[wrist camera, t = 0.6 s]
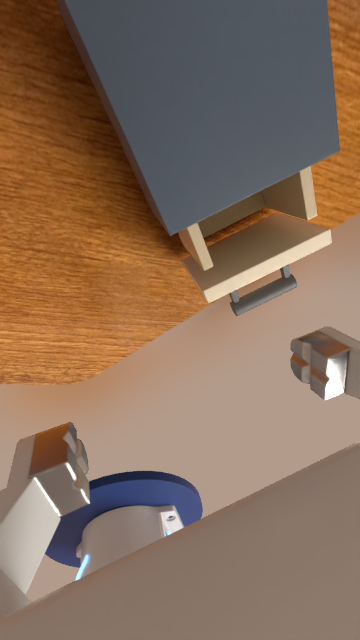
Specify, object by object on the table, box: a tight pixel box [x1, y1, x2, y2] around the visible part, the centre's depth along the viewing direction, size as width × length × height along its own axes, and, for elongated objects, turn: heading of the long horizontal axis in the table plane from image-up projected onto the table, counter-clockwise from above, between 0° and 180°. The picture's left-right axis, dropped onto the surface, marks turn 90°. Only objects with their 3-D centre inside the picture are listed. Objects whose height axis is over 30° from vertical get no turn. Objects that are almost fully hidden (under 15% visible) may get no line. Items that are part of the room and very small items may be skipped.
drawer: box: [178, 166, 331, 316], centre depth 23 cm, size 17×10×8 cm, turn 24°
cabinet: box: [56, 0, 340, 236], centre depth 18 cm, size 14×12×10 cm
